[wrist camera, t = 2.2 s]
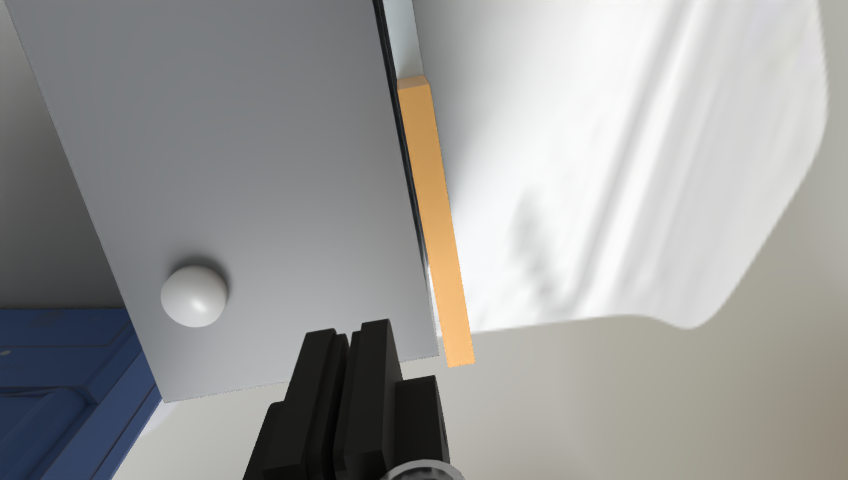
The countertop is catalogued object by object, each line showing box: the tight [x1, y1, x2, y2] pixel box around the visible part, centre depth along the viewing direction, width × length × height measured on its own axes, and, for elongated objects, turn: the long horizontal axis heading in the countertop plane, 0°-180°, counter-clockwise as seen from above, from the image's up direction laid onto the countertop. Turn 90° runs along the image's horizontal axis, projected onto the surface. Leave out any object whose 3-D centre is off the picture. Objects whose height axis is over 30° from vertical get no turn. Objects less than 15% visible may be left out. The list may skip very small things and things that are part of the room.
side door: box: [383, 0, 475, 367], centre depth 20 cm, size 12×1×11 cm, turn 10°
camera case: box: [4, 0, 439, 403], centre depth 21 cm, size 16×10×9 cm, turn 10°
